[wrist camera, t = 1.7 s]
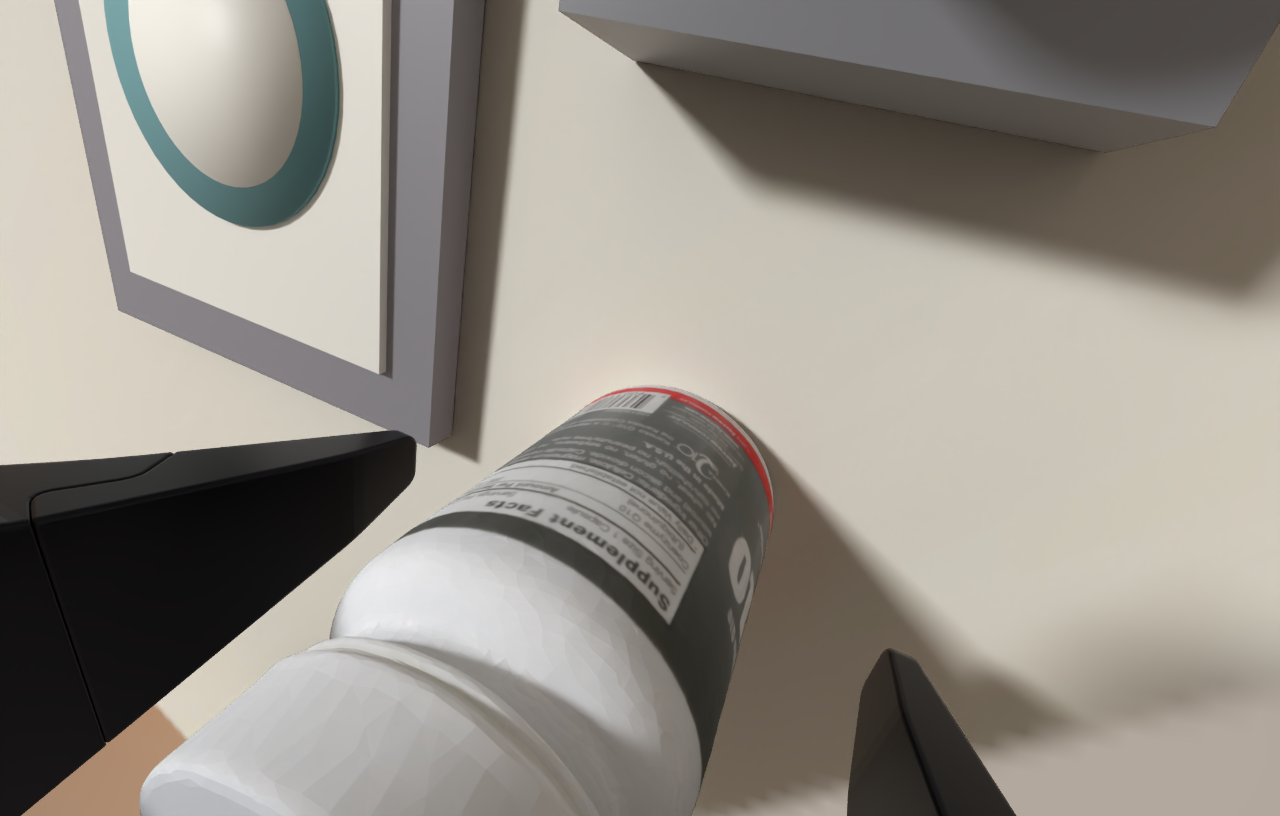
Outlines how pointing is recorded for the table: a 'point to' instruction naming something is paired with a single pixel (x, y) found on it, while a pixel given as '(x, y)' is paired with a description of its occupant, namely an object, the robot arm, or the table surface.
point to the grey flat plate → (290, 185)
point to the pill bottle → (518, 641)
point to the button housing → (968, 57)
